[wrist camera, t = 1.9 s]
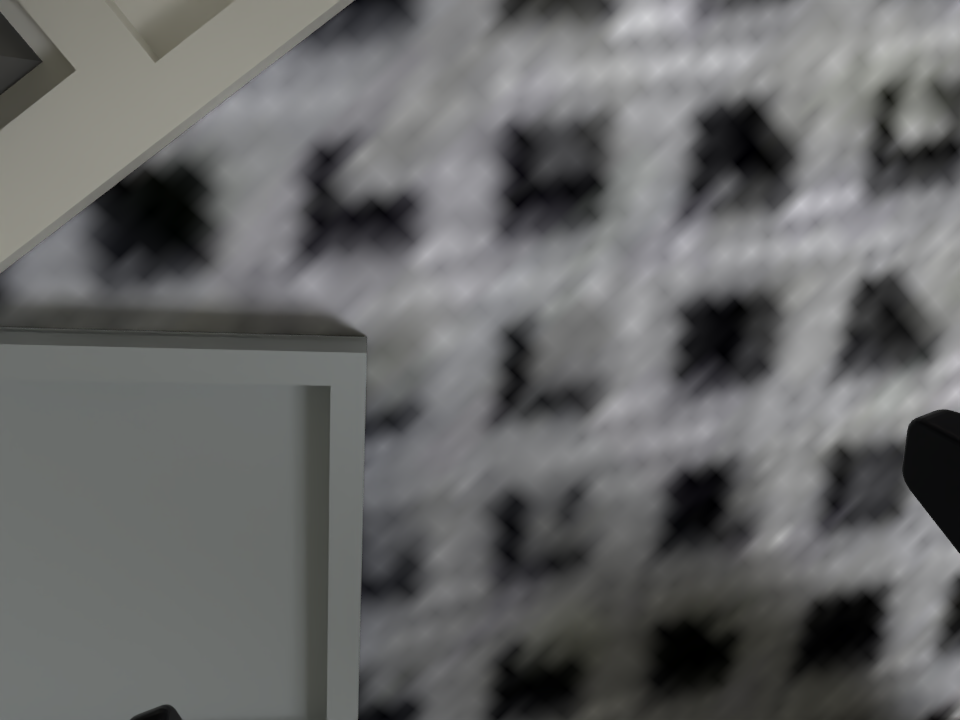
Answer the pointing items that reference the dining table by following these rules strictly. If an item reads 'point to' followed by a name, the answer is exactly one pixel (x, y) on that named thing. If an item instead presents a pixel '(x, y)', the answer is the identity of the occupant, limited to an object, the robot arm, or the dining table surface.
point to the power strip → (122, 92)
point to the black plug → (14, 56)
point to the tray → (180, 524)
